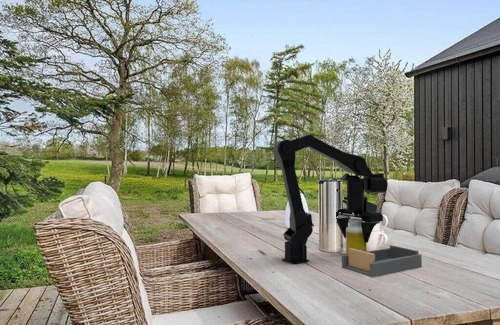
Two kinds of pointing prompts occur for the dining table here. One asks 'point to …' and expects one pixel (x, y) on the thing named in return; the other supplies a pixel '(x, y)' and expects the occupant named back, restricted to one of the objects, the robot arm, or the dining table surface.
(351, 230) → the supplement bottle
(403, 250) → the dark grey tray
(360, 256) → the block
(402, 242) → the dining table surface
